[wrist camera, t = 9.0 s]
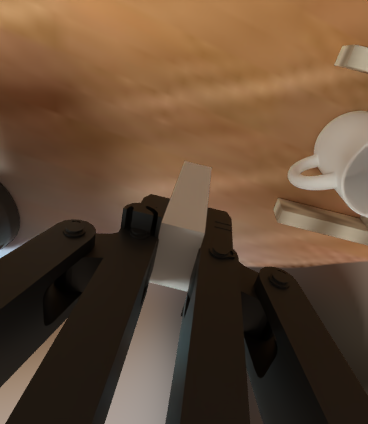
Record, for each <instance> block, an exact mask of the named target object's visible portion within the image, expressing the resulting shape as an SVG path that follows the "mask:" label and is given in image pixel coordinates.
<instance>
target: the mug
mask: <svg viewBox="0 0 368 424" xmlns="http://www.w3.org/2000/svg"><path fill="white" fill-rule="evenodd" d="M315 167H318V169H319V170H320V172H321V173H322V174H323V175H317V176H304V175H301V173H302V172H303V171H306V170H308V169H311V168H315ZM288 179H289V181H290V183H291V184H293V185H294V186H296V187H298V188H301V189H305V190H328V189H335V190H336V192H337V193H338V194H339V195H340V197H341V198H342V199H343V200H344V201H345V203H346V204H347V205H348V207H349V208H351V209H352V210H353V211H354V212H356V213H357V214H359V215H361V216H364V217H367V218H368V111H352V112H348V113H345V114H342V115H340V116H338V117H336V118H335V119H333V120H332V121H331V122H329V123H328V124H327V125H326V126H325V127H324V128H323V129H322V131H321V132H320V134H319V136H318V137H317V140H316V142H315V146H314V155H312V156H309V157H306V158H303V159H301V160H299V161H297V162H296V163H295V164H293V165H292V166H291V167H290V169H289V171H288Z"/></svg>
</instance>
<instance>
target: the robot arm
mask: <svg viewBox="0 0 368 424" xmlns="http://www.w3.org/2000/svg"><path fill="white" fill-rule="evenodd" d="M211 170H212V167H208V166H204V165H199V164H195V163H191V162H187V161H184V164H183V166H182V169H181V172H180V174H179V177H178V180H177V182H176V185H175V188H174V190H173V193H172V196H171V198H170V199H169V198H165V197H161V196H157V195H152V194H150V195H148V196H146V197H145V198H143V200H142V202H141V203H132V204H129V205H126V206H125V207H124V208H123V214H122V222H121V229H120V231H119V232H118V233H113V234H96V233H95V231H96V229H95V228H94V226H93V225H92V224H90V223H88V222H86V221H82V220H66V221H63V222H60V223H58V224H56V225H55V226H53V227H51V228H50V229H48V230H46V231H45V232H43V233H41V234H40V235H38V236H36V237H35V238H33V239H32V240H30V241H28V242H27V243H25V244H23V245H22V246H20V247H18V248H17V249H15V250H13V251H12V252H10V253H8V254H7V255H5V256H4V257H2V258H0V387H1V386H2V385H3V384H4V383H5V382H6V381H7V380H8V379H9V378H10V377H11V376H12V375H13V374H14V373H15V372H16V371H17V370H18V368H19V367H21V365H22V364H23V363H24V362H25V361H26V360H27V359H28V358H29V357H30V356H31V355H32V354H33V353H34V352H35V351H36V350H37V349H38V348H39V347H40V346H41V345H42V344H43V343H44V342H45V341H46V340H47V339H48V337H49V336H50V335H51V334H52V333H53V332H54V331H55V330H56V329H57V328H58V327H59V326H60V325H61V324H62V323H63V322H64V321H65V320H66V319H67V318H68V319H67V320H66V322H65V324H64V325H63V327H62V329H61V330H60V332H59V334H58V335H57V337H56V339H55V340H54V342H53V344H52V346H51V347H50V349H49V351H48V352H47V354H46V356H45V357H44V359H43V361H42V362H41V364H40V366H39V368H38V369H37V371H36V373H35V374H34V376H33V378H32V379H31V381H30V383H29V384H28V386H27V388H26V389H25V391H24V393H23V395H22V396H21V398H20V400H19V401H18V403H17V405H16V406H15V408H14V410H13V412H12V413H11V415H10V417H9V418H8V420H7V422H6V423H5V424H104V423H105V420H106V417H107V414H108V411H109V408H110V404H111V402H112V398H113V395H114V392H115V389H116V386H117V383H118V380H119V377H120V373H121V371H122V367H123V364H124V361H125V358H126V355H127V352H128V349H129V346H130V342H131V339H132V336H133V333H134V329H135V327H136V324H137V321H138V318H139V314H140V312H141V308H142V305H143V302H144V299H145V296H146V293H147V288H148V283H149V282H151V283H155V284H159V285H163V286H167V287H171V288H175V289H179V290H183V291H188V293H187V297H186V300H185V304H184V307H183V310H182V313H181V316H183V317H182V324H181V330H180V336H179V342H178V349H177V355H176V361H175V367H174V374H173V380H172V386H171V392H170V398H169V405H168V411H167V417H166V423H165V424H250V417H249V402H248V388H247V374H246V369H247V371H248V375H249V378H250V382H251V385H252V388H253V392H254V395H255V398H256V401H257V405H258V408H259V411H260V415H261V418H262V421H263V424H368V395H367V394H366V392H365V391H364V389H363V387H362V386H361V384H360V382H359V381H358V379H357V378H356V376H355V374H354V373H353V371H352V370H351V368H350V366H349V365H348V363H347V362H346V360H345V358H344V357H343V355H342V353H341V352H340V351H339V349H338V347H337V345H336V344H335V342H334V341H333V339H332V337H331V336H330V334H329V333H328V331H327V329H326V328H325V326H324V324H323V323H322V321H321V320H320V318H319V316H318V315H317V313H316V312H315V310H314V309H313V307H312V305H311V304H310V302H309V300H308V299H307V297H306V295H305V294H304V292H303V291H302V289H301V287H300V286H299V284H298V282H297V281H296V280H295V279H294V278H293V276H291V275H290V274H288V273H287V272H286V271H284V270H282V269H279V268H275V267H264V268H262V269H261V270H260V272H259V273H258V272H255V271H253V270H251V269H249V268H247V267H246V266H244V265H242V264H241V263H240V262H239V260H238V255H237V253H236V252H235V250H234V249H233V242H232V222H231V218H230V216H229V215H228V213H227V212H224V211H220V210H216V209H212V208H208V198H209V189H210V179H211ZM19 223H20V221H19V214H18V210H17V207H16V205H15V203H14V201H13V199H12V197H11V196H10V194H9V193H8V191H7V190H6V189H5V188H4V187H3V185H2V184H1V183H0V250H1V249H2V248H4V247H5V246H6V245H7V244H8V243H10V242H11V241H12V240H13V239H14V238H15V236H16V235H17V233H18V230H19ZM188 288H189V289H188Z"/></svg>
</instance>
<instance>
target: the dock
mask: <svg viewBox="0 0 368 424" xmlns="http://www.w3.org/2000/svg"><path fill="white" fill-rule="evenodd" d="M334 65H335V66H339V67H343V68H347V69H351V70H356V71H360V72H364V73H368V48H367V47H363V46H359V45H347V46H342V48H341V50H340V53H339V55H338V57H337V60H336V62H335V64H334ZM273 210H274V214H275V217H276V220H277V223H281V224H285V225H289V226H293V227H297V228H301V229H305V230H309V231H313V232H317V233H321V234H324V235H328V236H332V237H336V238H340V239H344V240H348V241H352V242H356V243H360V244H364V245H368V218H367V217H364V216H361V217H360V218H356V217H352V216H348V215H344V214H340V213H336V212H332V211H328V210H324V209H320V208H316V207H312V206H308V205H304V204H300V203H296V202H292V201H288V200H284V199H280V198H278V200H277V202H276V204H275V207H274V209H273Z"/></svg>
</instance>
